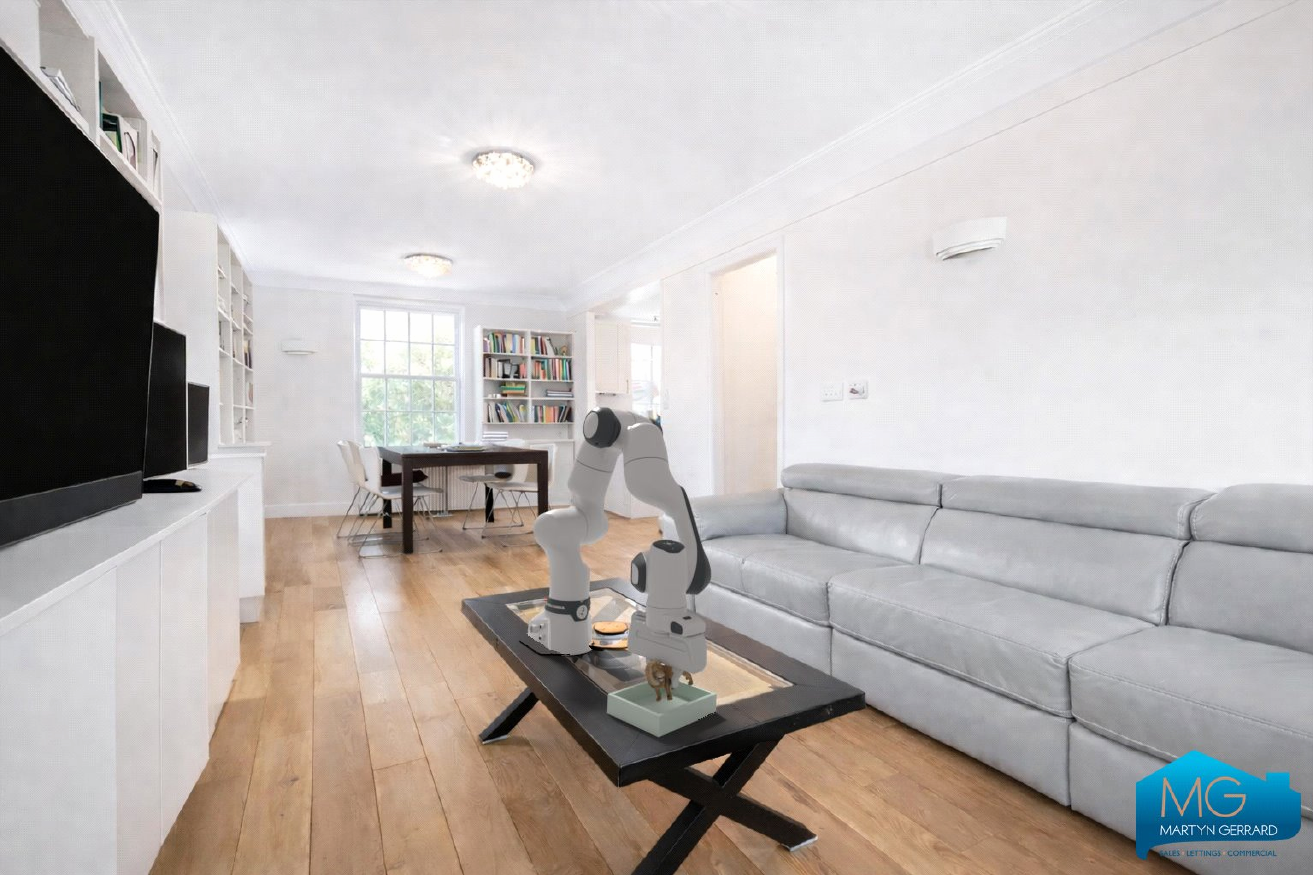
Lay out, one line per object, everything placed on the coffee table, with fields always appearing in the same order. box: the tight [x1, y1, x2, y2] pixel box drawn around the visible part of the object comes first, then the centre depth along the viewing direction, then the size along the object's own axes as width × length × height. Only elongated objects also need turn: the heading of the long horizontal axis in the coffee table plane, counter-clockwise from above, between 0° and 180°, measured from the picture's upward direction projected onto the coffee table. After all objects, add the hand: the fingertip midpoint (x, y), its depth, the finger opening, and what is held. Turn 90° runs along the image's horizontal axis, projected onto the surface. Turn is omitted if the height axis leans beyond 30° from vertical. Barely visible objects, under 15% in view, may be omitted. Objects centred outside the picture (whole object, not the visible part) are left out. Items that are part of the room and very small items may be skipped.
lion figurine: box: [644, 660, 694, 702], centre depth 136 cm, size 15×5×9 cm, turn 152°
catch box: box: [606, 679, 718, 738], centre depth 135 cm, size 15×18×4 cm
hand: (663, 683), depth 135 cm, fingers open, 4 cm apart
